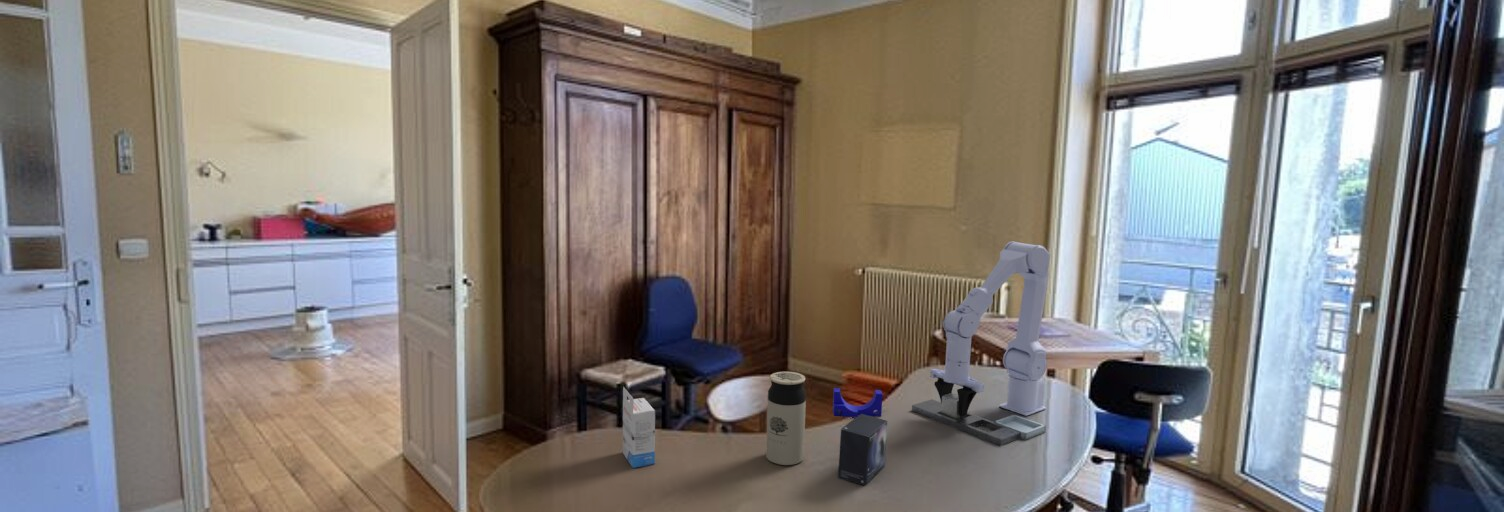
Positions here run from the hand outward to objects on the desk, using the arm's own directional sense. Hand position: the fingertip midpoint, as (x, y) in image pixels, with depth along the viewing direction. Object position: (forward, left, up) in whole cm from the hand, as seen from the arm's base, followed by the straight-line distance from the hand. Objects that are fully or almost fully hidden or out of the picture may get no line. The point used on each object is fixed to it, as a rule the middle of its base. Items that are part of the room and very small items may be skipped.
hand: (954, 412), depth 166 cm
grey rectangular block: (0, 0, -2) cm, 2 cm away
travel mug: (+49, -6, -2) cm, 50 cm away
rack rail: (0, +3, -2) cm, 4 cm away
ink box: (+75, -23, -2) cm, 79 cm away
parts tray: (-8, +13, -2) cm, 15 cm away
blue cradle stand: (+18, -16, -2) cm, 24 cm away
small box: (+40, +8, -2) cm, 41 cm away
